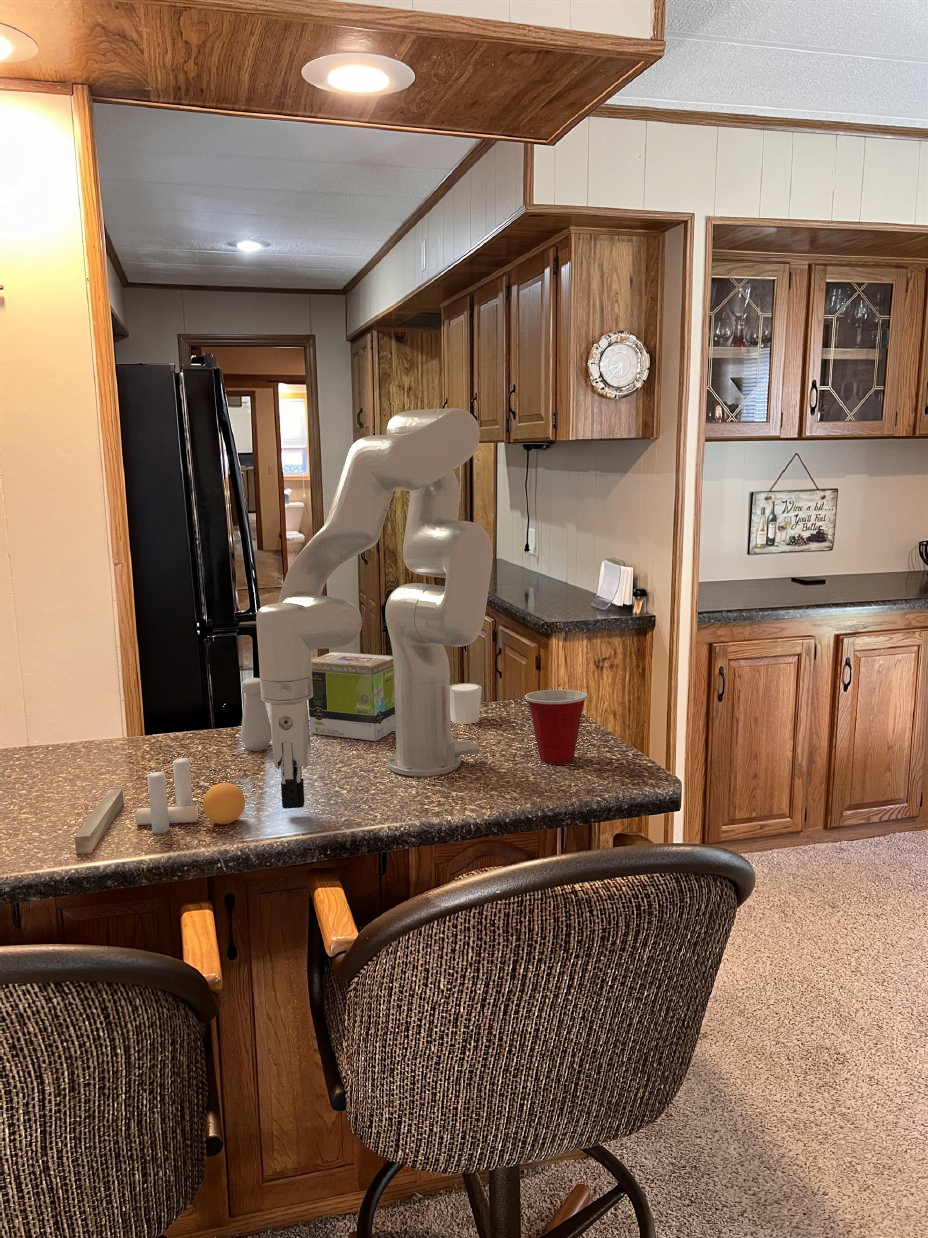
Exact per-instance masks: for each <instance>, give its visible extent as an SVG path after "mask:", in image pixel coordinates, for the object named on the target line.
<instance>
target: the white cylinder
mask: <svg viewBox="0 0 928 1238" xmlns="http://www.w3.org/2000/svg"><path fill="white" fill-rule="evenodd" d="M482 690H483V689H482V686H481V685H480V684H476V683H471V682H470V683H466V682H465V683H462V682H461V683H455V684H450V715H451V721H452V722H454V723H453V724H455V723H458V724H457V725H459V724H469V725H472V724H471V723H475V724H477V723H479V722H480V714H481V713H480V712H481V702H482V701H481V700H482ZM478 721H479V722H478ZM476 722H477V723H476Z"/></svg>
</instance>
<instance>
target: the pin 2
mask: <svg viewBox="0 0 928 1238" xmlns="http://www.w3.org/2000/svg"><path fill="white" fill-rule="evenodd" d="M172 768H173V769H172V770H173V771H172V772H173V782H174V794H175V807H180V806H194V802H193V790H192V789H193V787H192V779H191V778H192V777H191V776H192V775H191V765H190V759H188V758H186V757H185V758H183V757H182V758H177V759H174V760H173V761H172Z"/></svg>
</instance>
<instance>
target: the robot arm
mask: <svg viewBox="0 0 928 1238" xmlns="http://www.w3.org/2000/svg"><path fill="white" fill-rule="evenodd" d="M479 425H480V424H479V422H478V421H477V420H476V418H475V416H474V415H473V414H472V413H471V412H469V411H467V410H465V409H463V408H458V407H447V408H432V409H431V408H429V409H427V408H425V409H411V410H406V411H402V412H398V413H397V414H395V415H393V416H392V417H391V418H390V420H388V424H387V426H386V432H385V433H386V434H375V435H368V436H363V437H361V438H359V439H357V440H356V441H355V442H354V443H352V445H351V447H350V448H349V451H348V453H347V456H346V459H345V462H344V465H343V468H342V470H341V474H340V478H339V480H338V485H337V487H336V490H335V494H334V496H333V499H332V503H331V505H330V508H329V512H328V514H327V518H326V520H325V523H324V525H323V526H322V528H320V530H318V532H317V533H315V535H313V537H312V538H311V539H310V540H309V541H308V542H307V543H306V545H305V546H304V547H302V550H301V551H300V552H299V554H297V555H296V557H295V559H294V560H293V561H292V563H291V565H290V567H289V568H288V570H287V573H286V575H285V578H284V581H283V584H282V588H281V591H280V593H279V597H278V601H277V602H276V603H270V604H266V605H263V606H261V607H260V608H258V610H257V613H256V616H255V620H256V636H257V637H256V638H257V652H258V667H259V678H260V687H261V700H262V701H263V702H265V704H266V703H267V704H269V721H270V726H271V736H272V739H271V745H272V748H271V749H272V756H273V758H272V759H273V764H274V765H273V766H274V768H275V769H277V770H280V774H281V775H280V778H281V782H280V790H281V792H280V793H281V806H282V808H283V809H300V808H301V809H302V808H304V806H305V801H306V800H305V787H304V786H305V785H304V784H305V783H304V778H303V770H302V767H303V769H306V768H307V767H308V766H309V765H310V759H311V753H312V751H311V750H312V746H311V733H310V721H309V705H308V700H309V699H310V698H312V697H313V684H312V664H311V660H312V651H313V650H319V649H320V650H321V649H338V648H342V647H345V646H347V645H349V644H351V643H352V642H354V641H355V640H356V639H357V638H358V637H359V635H360V633H361V631H362V628H363V617H362V614H361V612H360V609H359V608H358V606H356V605H355V604H354V603H353V602H350V601H349V600H347V599H344V598H342V597H336V596H335V597H334V596H328V595H323V594H322V593H323V589H324V587H325V585H326V583H327V582H328V580H329V579H330V577H331V575H332V574H333V573H334V572H335V571H336V570H337V569H338V568H339V567H340V566H341V565H343V564H344V563H346V562H347V561H349V560H351V559H352V558H354V557H356V556H359V555H360V554H363V552H365V551H367V550H369V549H371V548H372V547H374V546H375V545H377V543H378V542H379V540H380V538H381V537H380V536H381V534H382V529H383V526H384V524H385V519H386V517H387V514H388V511H389V508H390V504H391V501H392V498H393V496H394V492H395V491H403V492H404V491H409V499H408V509H407V516H406V523H405V524H406V525H405V530H404V531H405V532H404V535H403V536H404V538H403V546H402V560H403V563H404V565H405V567H406V568H407V569H408V570H409V571H410V572H412V573H414V574H417V575H421V576H426V577H433V578H442V579H445V583H444V586H443V585H437V584H429V583H420V582H415V583H413V582H412V583H411V582H410V583H406V584H402V585H400V586H398V587H397V588H395V589H394V590H393V591H392V592H391V593H390V595H389V596H388V598H387V601H386V604H385V622H386V627H387V632H388V635H389V639H390V640H389V641H390V645H391V651H392V652H391V653H392V656H393V668H394V699H395V726H396V730H395V746H396V748H395V749H396V750H395V751H396V752H394V753H392V754H391V755H390V756H389V757H388V759H387V767H388V768H389V770H390V771H392V772H393V773H396V774H398V775H403V776H409V777H434V776H438V775H439V776H441V775H445V774H448V773H450V772H453V771H454V770H456V769H458V768H459V767H460V766H461V764H462V763H461V762H462V761H461V760H462V759H461V755H478V754H479V752H480V751H479V749H480V748H479V743H478V742H471V741H470V740H469V739H468V740H467V739H466V740H459V741H458V740H457V739H454V738H453V734H452V728H451V727H452V726H451V725H452V723H451V714H450V686H451V682H450V680H451V678H450V677H451V674H450V673H451V671H450V663H449V662H450V661H449V657H448V654H447V651H446V649H445V646H451V647H457V648H458V647H459V648H460V647H466V646H469V645H471V644H472V643H473V642H475V641H476V640H477V638H478V637H479V636H480V633H481V631H482V629H483V625H484V622H485V617H486V612H487V604H488V596H489V590H490V582H491V575H492V569H493V568H492V567H493V560H494V556H493V553H494V551H493V544H492V541H491V539H490V535H489V533H488V532H487V530H486V529H485V528H484V527H483V526H481V525H480V524H478V523H476V522H473V521H469V520H468V521H467V520H459V515H460V514H459V512H460V502H461V489H460V488H461V487H460V484H459V480H458V478H457V475H456V474H455V470H456V469H457V468H458V467H461V466H462V465H464V464H465V463H467V462H468V461H469V460H470V459H471V458H472V457H473V456H474V455H475V453H476V452H477V449H478V446H479V445H480V436H481V430H480V426H479Z"/></svg>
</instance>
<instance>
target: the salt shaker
mask: <svg viewBox="0 0 928 1238" xmlns="http://www.w3.org/2000/svg"><path fill="white" fill-rule="evenodd" d="M241 692H242V693H243V694H244V703H243V711H242V718H241V728H240V729H241V730H240V740H241V741H242V743H243V745H244V747H245V748H246V750H248V751H251V752H252V751H253V752H254V751H255V752H256V751H257V752H258V751H259V752H260V751H263V750H266V749H268V747H270V746H269V745H270V743H271V742H272V736H271V721H270V716H269V714H268V713H269V712H268V710H267V705H266V702H263V701H262V700H261V687H260V677H250V678H247V679H244V680H243V681H242V682H241Z"/></svg>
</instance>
